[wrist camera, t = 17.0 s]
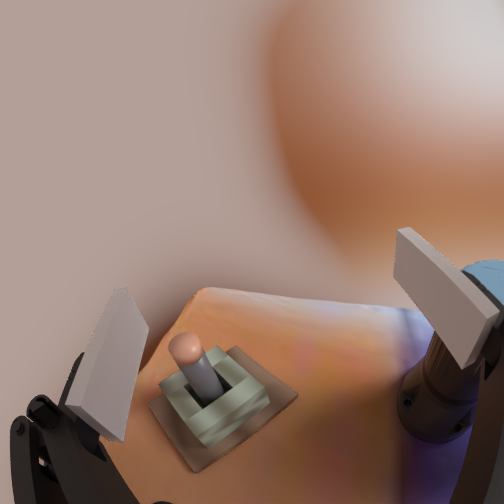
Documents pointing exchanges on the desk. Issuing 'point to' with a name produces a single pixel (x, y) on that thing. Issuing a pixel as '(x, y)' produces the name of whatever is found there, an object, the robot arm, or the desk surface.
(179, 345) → the peg
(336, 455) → the desk surface
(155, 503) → the blender logo cutout
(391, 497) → the desk surface
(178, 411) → the socket
